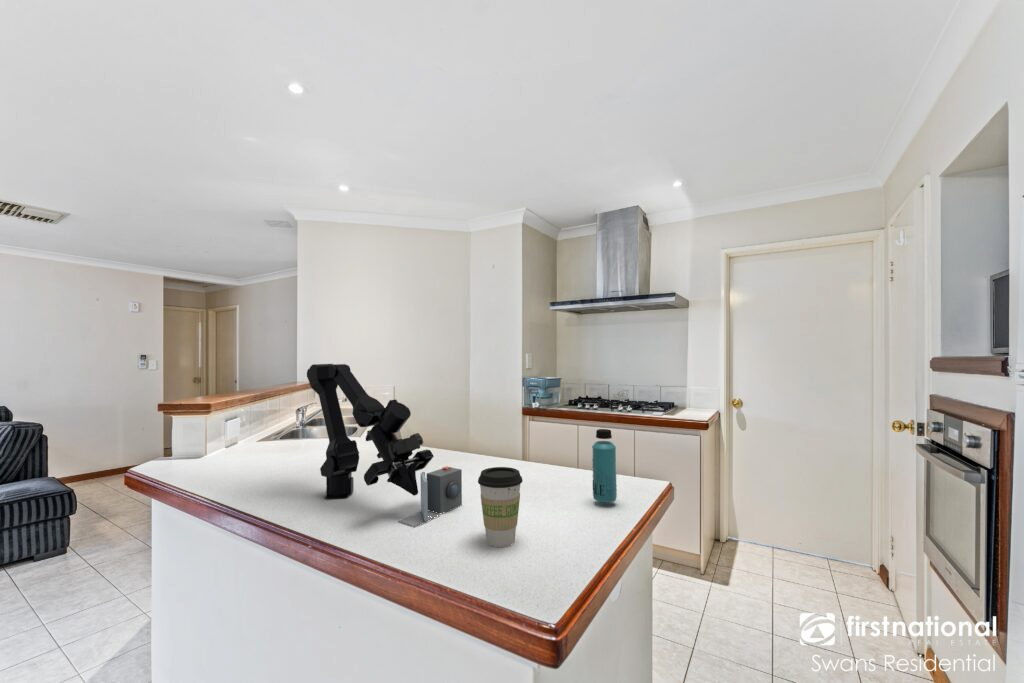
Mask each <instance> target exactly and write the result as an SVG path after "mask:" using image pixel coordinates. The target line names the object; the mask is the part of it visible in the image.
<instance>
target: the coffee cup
mask: <svg viewBox="0 0 1024 683" xmlns="http://www.w3.org/2000/svg"><path fill="white" fill-rule="evenodd" d="M477 483H478V484H479V487H480V501H481V511H482V518H483V526H484V532H485V539H486V543H487V545H489V544H490V545H489V546H491V545H492V546H491V547H494V546H496V547H497V548H505V546H506V547H509V545H510V546H512V545H513V544H514V543H515V541H516V532H517V526H518V517H519V511H520V510H519V509H520V499H521V484H522V483H523V476H522V475H521V472H520V470H518V469H516V468H513V467H507V466H495V467H488V468H485V469H482V470H481V471H480V475H479V476H478V479H477ZM511 544H512V545H511ZM496 547H495V548H496Z"/></svg>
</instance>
